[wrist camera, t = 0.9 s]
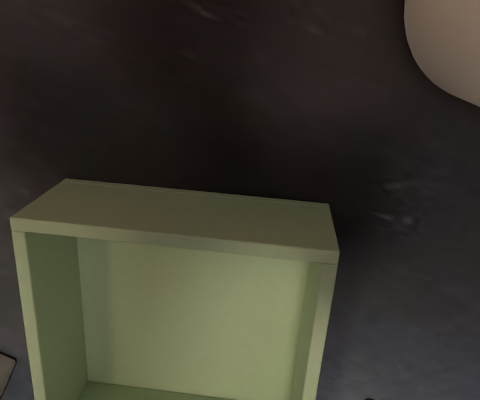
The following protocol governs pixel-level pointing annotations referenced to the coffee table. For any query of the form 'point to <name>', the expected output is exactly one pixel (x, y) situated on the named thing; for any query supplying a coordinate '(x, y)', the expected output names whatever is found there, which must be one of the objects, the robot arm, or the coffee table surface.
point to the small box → (5, 371)
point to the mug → (446, 44)
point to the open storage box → (173, 293)
